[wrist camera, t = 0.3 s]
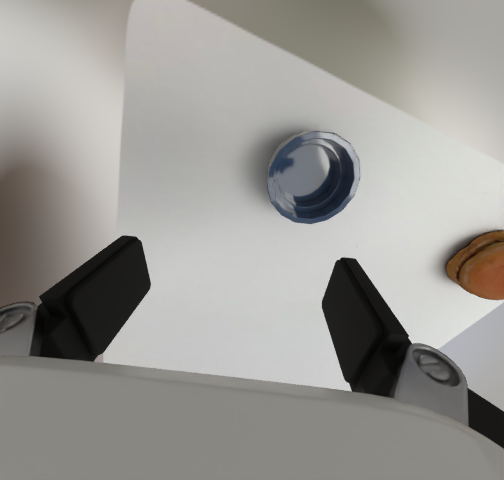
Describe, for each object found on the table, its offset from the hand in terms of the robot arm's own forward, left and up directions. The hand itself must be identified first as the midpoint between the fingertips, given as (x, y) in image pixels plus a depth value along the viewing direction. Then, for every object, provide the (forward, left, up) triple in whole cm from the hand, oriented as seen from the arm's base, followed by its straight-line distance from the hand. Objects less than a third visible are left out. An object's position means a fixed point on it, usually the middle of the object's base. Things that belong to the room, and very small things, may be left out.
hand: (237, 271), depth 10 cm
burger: (+7, +34, -19) cm, 39 cm away
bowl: (-2, +6, -18) cm, 19 cm away
